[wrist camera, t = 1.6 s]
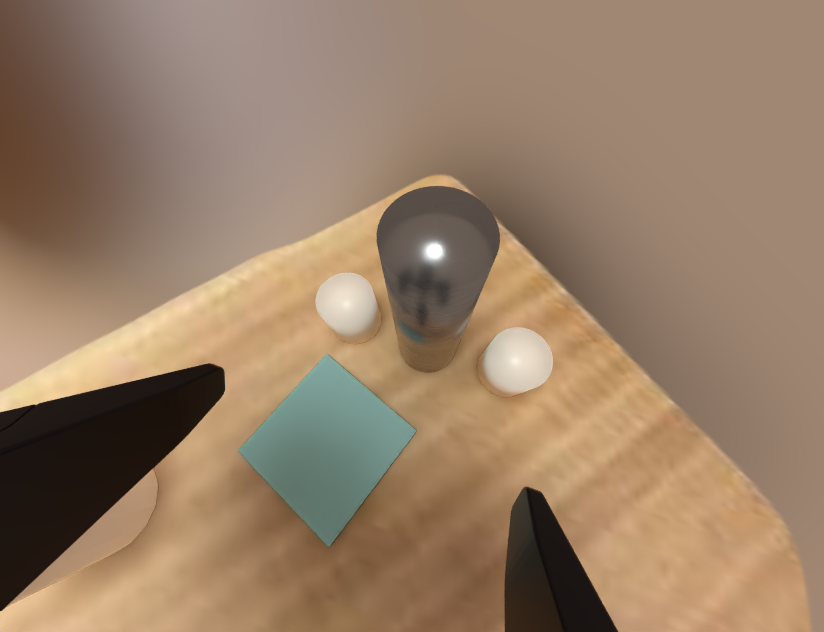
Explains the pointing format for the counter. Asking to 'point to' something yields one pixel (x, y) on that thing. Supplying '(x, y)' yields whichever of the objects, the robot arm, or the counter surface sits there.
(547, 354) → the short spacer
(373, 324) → the cylinder
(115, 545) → the white cylinder
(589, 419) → the counter surface
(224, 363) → the counter surface
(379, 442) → the teal pad
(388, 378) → the counter surface
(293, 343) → the counter surface
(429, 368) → the dark metallic domed cylinder
